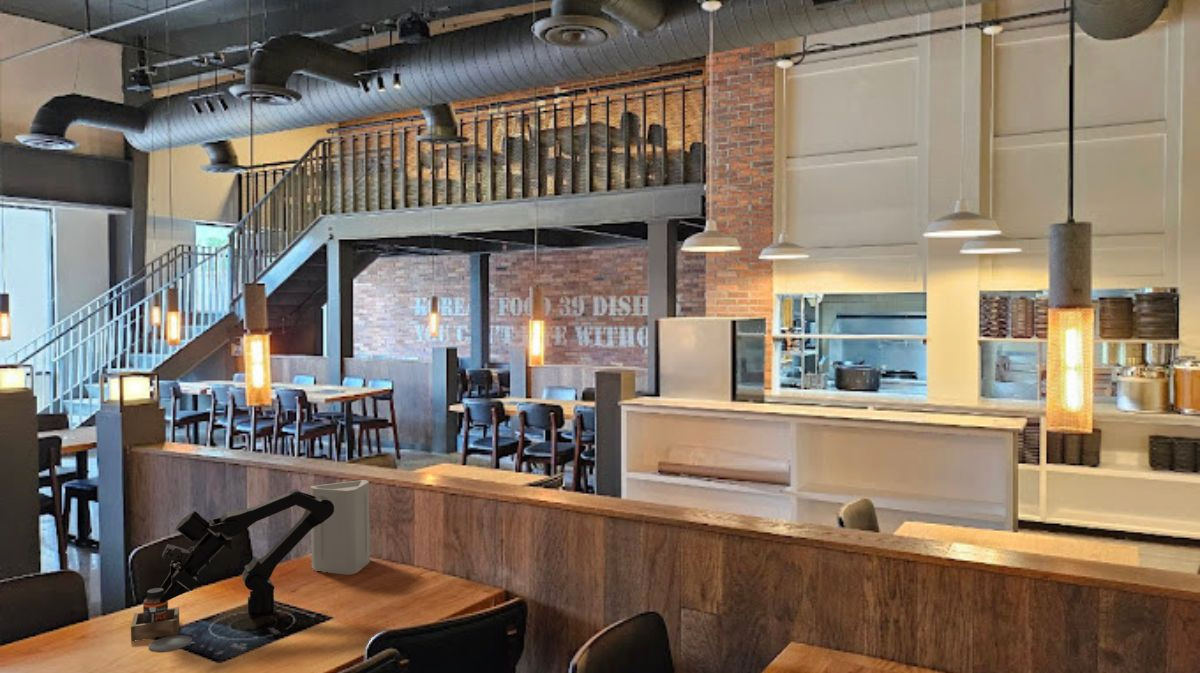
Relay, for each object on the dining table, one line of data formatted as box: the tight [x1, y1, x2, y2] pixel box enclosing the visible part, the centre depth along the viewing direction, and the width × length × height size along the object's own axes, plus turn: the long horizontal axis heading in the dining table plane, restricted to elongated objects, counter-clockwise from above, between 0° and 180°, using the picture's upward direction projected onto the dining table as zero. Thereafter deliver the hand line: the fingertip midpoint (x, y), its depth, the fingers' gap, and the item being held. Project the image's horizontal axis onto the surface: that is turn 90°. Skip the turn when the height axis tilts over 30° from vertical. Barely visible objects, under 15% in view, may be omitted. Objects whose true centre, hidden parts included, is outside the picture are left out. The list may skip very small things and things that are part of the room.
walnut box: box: [130, 606, 180, 642], centre depth 225 cm, size 11×11×4 cm
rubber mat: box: [148, 634, 193, 653], centre depth 216 cm, size 10×10×1 cm
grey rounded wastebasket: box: [309, 479, 371, 576], centre depth 280 cm, size 19×15×28 cm
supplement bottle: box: [142, 587, 169, 624], centre depth 225 cm, size 6×6×11 cm
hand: (160, 597), depth 226 cm, fingers open, 9 cm apart
